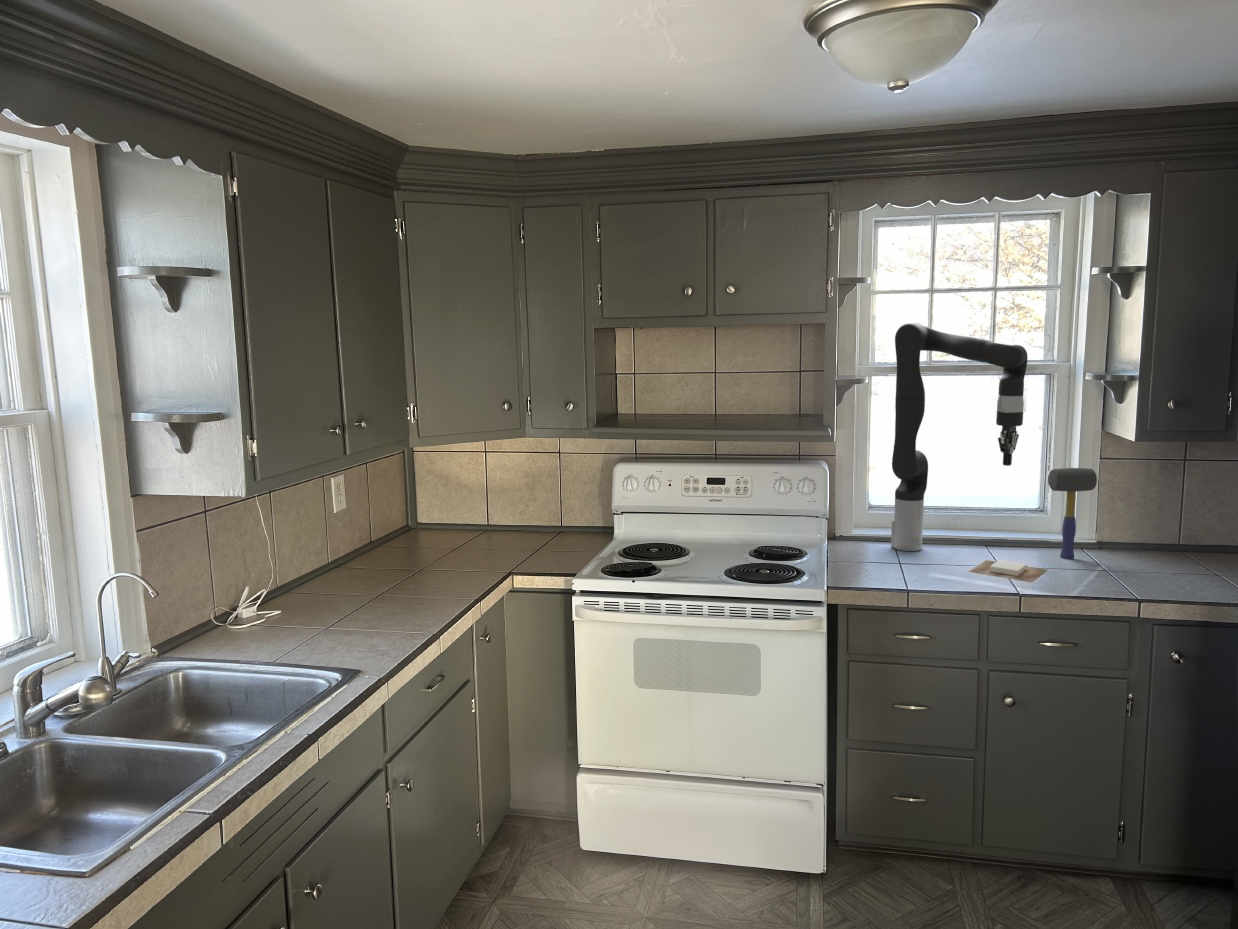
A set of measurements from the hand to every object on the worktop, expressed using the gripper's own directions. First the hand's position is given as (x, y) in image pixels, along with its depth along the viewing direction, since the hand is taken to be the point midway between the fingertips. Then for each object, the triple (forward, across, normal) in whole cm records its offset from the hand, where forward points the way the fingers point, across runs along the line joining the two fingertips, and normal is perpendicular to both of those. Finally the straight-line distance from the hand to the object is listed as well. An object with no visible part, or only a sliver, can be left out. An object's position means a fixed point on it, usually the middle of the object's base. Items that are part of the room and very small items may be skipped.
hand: (1007, 465), depth 267 cm
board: (+31, +14, +6) cm, 35 cm away
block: (+29, +9, +6) cm, 31 cm away
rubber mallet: (+31, -12, +16) cm, 37 cm away
